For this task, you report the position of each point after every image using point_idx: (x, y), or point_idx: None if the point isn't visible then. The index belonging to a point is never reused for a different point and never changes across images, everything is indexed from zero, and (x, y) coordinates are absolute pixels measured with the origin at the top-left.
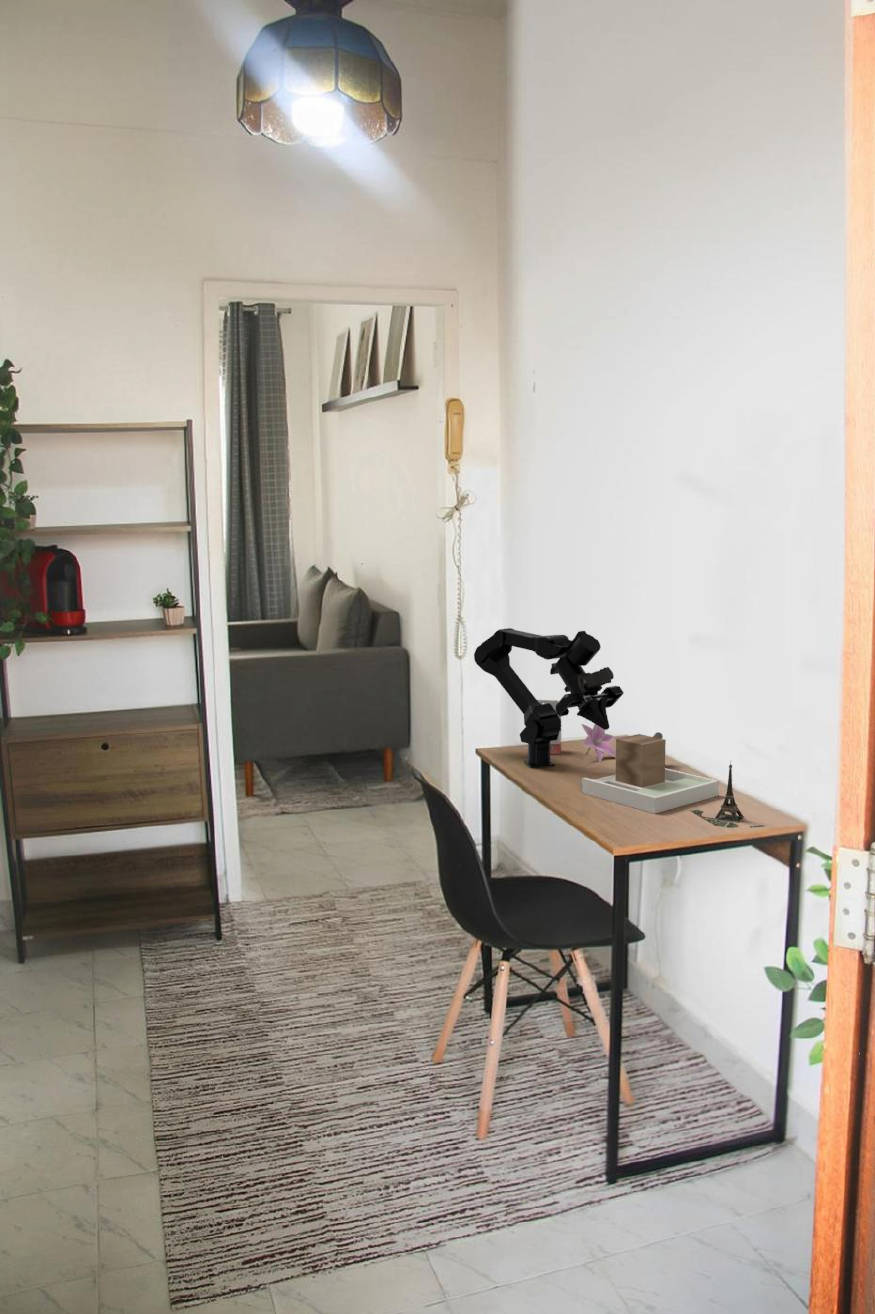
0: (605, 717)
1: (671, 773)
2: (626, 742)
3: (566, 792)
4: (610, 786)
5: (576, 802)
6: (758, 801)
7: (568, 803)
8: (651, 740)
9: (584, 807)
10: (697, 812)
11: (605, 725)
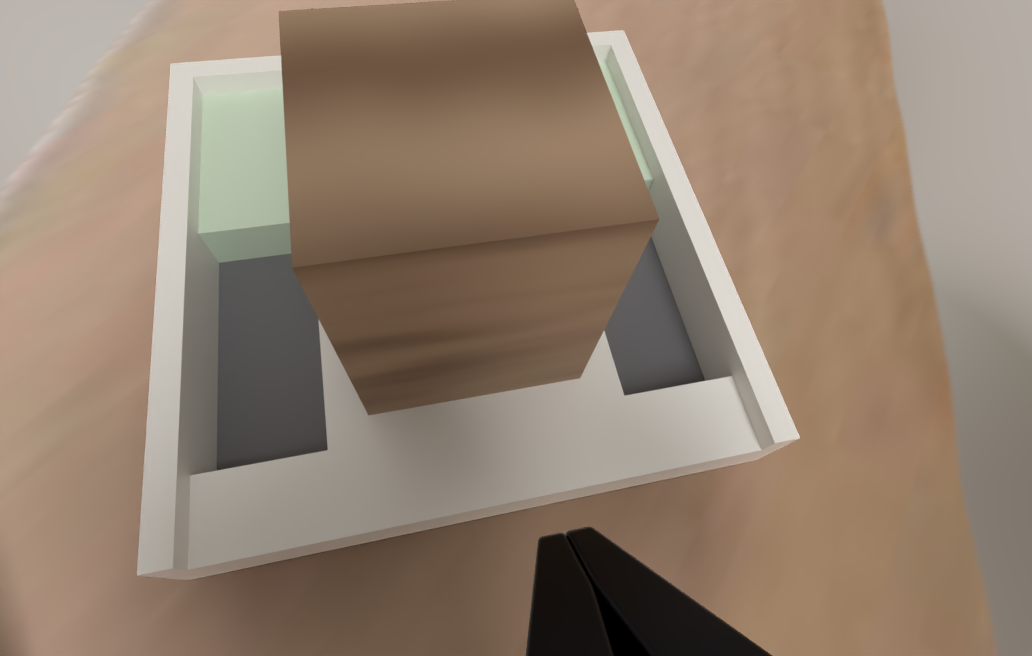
0: (588, 651)
1: (191, 315)
2: (616, 124)
3: (834, 515)
4: (712, 237)
5: (844, 335)
6: (150, 15)
7: (886, 340)
8: (404, 43)
9: (835, 260)
10: None
11: (615, 550)
